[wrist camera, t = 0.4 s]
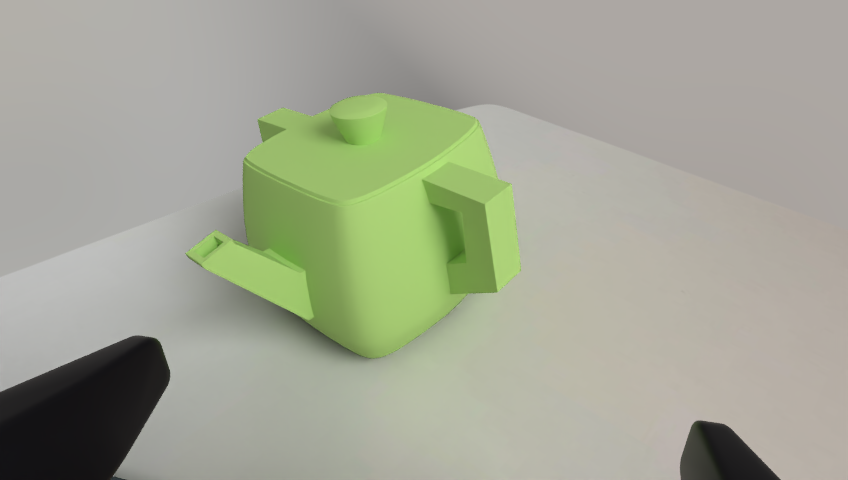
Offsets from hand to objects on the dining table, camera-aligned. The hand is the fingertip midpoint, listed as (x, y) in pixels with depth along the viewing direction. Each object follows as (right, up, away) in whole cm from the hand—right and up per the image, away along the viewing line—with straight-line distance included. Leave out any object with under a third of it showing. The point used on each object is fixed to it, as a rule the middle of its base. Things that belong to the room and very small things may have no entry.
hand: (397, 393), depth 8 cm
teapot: (-3, -2, +26) cm, 26 cm away
